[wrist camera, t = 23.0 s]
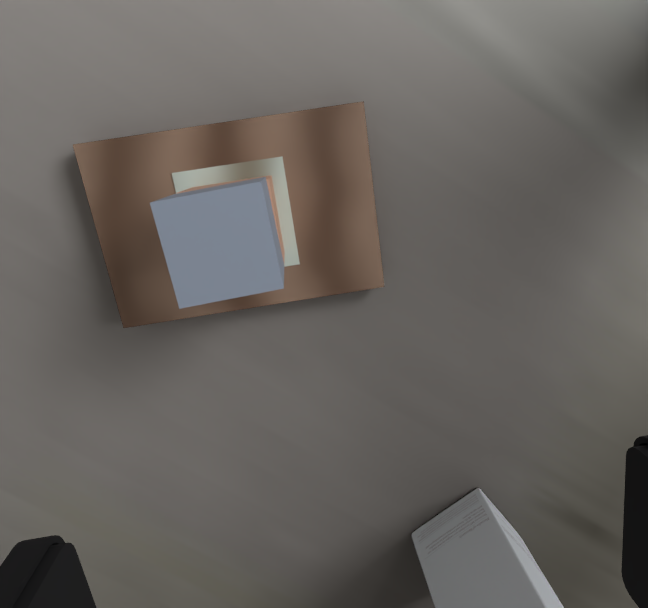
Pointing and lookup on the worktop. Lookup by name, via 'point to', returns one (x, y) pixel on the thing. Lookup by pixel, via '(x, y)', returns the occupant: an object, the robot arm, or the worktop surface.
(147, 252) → the board
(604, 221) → the worktop surface
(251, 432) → the worktop surface
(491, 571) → the supplement box
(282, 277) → the slate block
